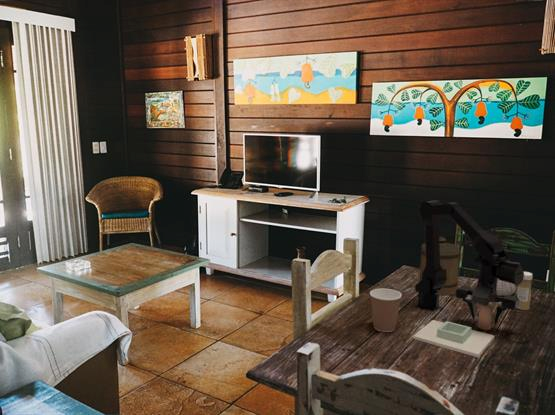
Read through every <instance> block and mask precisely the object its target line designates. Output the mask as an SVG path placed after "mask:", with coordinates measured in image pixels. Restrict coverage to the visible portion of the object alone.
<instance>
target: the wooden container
mask: <svg viewBox="0 0 555 415" xmlns="http://www.w3.org/2000/svg"><path fill="white" fill-rule="evenodd" d="M439 243H440V265H441V267H442V268H443V269H446V271H447V272H446V277H447V280H446V282H445V284H444V285H443V286H442V288H441V290H438V295H439V296H451V295H454V294H456V290H457V289H458V288H459V287H458V286H459V285H458V283H459V264H460V263H459V262H460V259H459V258H460V251H461V250H460V246H458V245H456V244H454V243H449V242H446V238H445V237H444V236H439ZM425 266H426V248H425V242H424V243H422V244H421V254H420V266H419V282H420V281H421V280H422V272H423V270H424V268H425Z"/></svg>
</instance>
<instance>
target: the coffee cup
mask: <svg viewBox="0 0 555 415" xmlns="http://www.w3.org/2000/svg"><path fill="white" fill-rule="evenodd" d="M369 295H370V302H371V303H370V304H371V312H372V313H371V314H372V315H371V316H372V324H373V328H374V329H375V330H376V331H379V332H381V331H382V333H391V332H394V331H395V329H396V326H397V321H398V316H399V309H400V303H401V298H402V293H401V292H400V291H398V290H395V289H391V288H375V289H372V290H371V291H370V292H369Z"/></svg>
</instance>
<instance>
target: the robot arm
mask: <svg viewBox="0 0 555 415" xmlns="http://www.w3.org/2000/svg"><path fill="white" fill-rule="evenodd" d="M418 212H419V217H420V218H419V219H420V220H421V222H422V223H423V225H424V238H425V240H424V243H425V248H426V266H425V268H424V270H423V272H422V280H421V281H420V280H419V281H418V283H417V284H415V285H414V287H415V288H414V289H415V292H417V293H418V295H417V304H416V305H415V307H416V308H419V309H424V310H428V311H434V310H436V309H437V308H438V307H439V306H440V295H438V290H441V288H442V286H443V285H444V284H445V282H446V280H447V277H446V272H447V271H446V269H443V268H442V267H441V265H440V243H439V237H440V225H441V222H442V219H443V217H444V215H446V216H447V215H448V217H450V219H451V220H452V221H453V222H455V224H456V225H457V226H458V227H459V228H460V229H461V230H462V231H463V232H464V234H465V235H467V237H469V239H470V240H471V242H472V245H473V247H474V249H475V251H476V253H477V254H478V255H477V256H476V257H475V258H473V261H474V262H476V263H479V268H478V279H477V282H476V286H475V288H474V289H473V287H470V286H466V285H460V286H459V287H457V290H456V293H455V295H454V297H455V298H459V299H462V301H463V302H465V303H466V304H467V306H468V308H469V311H470V314H471V317H472V319H473V320H476V315H477V305H479V304H482V305H484V306H487V305H488V304H489V303H490V304H492V303H498V305H497V306H496V312H495V318H494V325H497V324H498V322H499V320H500V318H501V317H502V315H503V312H504V311H507V310H512V311H513V310H516V309H518V308H517V306H518V305H519V298H518V297H517V295H516V296H515V295H512V294H511V295H505V296H498V295H497V282H498V279H499V280H501V281H504V282H508V283H512V284H514V285H515V286H518V285H519V284H520V283H521V282H522V280H523V277H524V272H525V271H524V269H523V267H522V263H520V262H514V261H510V260H511V259H510V258H509V256H508V254H507V252H506V251H505V248H504V243H503V242H502V241H501V240H500V239H499V238H498V237H496V236H495V235H493V234H492V233H489V232H488V231H485V230H484V229H483V228H482V227H481V226H480V225H479V224H478V223H477V222H476V221H474V219H473V218H472V217H471V216H470V215H469V214H468V213H467V212H466V211H465V210H464V209H463V208H462V207H461V205H460V204H459V203H458V202H455V201H454V202H442V201H440V200H438V199H435V200H429V201H424V202H422V203H420V205H419V207H418Z"/></svg>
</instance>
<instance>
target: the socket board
mask: <svg viewBox="0 0 555 415" xmlns="http://www.w3.org/2000/svg"><path fill="white" fill-rule="evenodd" d="M412 338H413V340H415V341H419V342H423V343H426V344H429V345H433V346H437V347H440V348H443V349H447V350H451V351H454V352H458V353H461V354H464V355H469V356H471V357H475V358H479V357H481V355H483V353H484V352H485V351H486V349H487V348H488V347H489V345H490V344H492V342H493V340H495V335H493V334H489V333H486V332H482V331H477V330H474V329H472V327H471V326H467V325H464V324H463V325H462V324H459V323H455V322H451V321H445V322H442V321H438V320H434V319H432V320H430V321H429V322H427V324H426V325H424V327H422V328H421V329H420V330H418V331H417V332H416V333H415V334H414V335H413V336H412Z"/></svg>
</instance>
